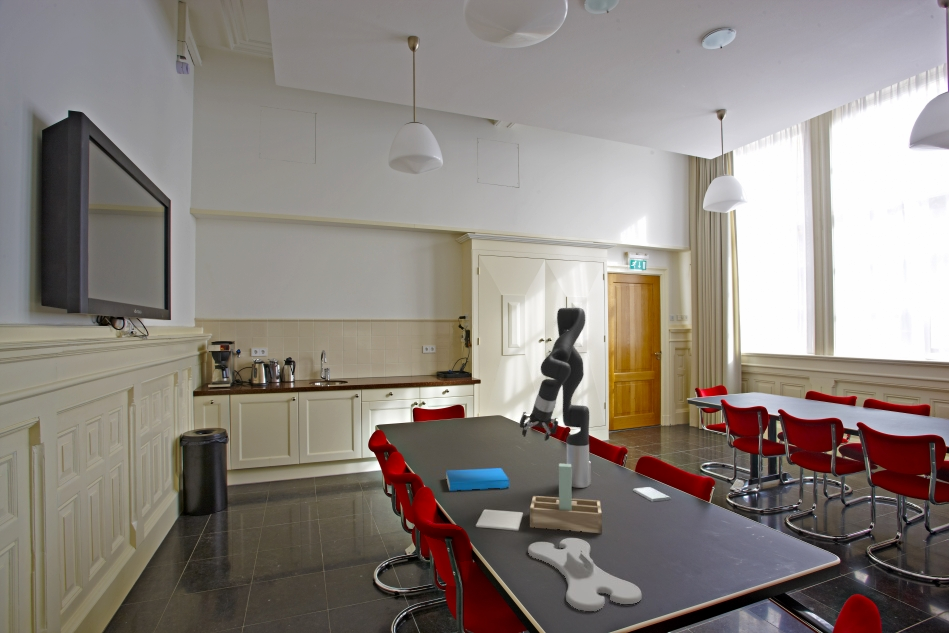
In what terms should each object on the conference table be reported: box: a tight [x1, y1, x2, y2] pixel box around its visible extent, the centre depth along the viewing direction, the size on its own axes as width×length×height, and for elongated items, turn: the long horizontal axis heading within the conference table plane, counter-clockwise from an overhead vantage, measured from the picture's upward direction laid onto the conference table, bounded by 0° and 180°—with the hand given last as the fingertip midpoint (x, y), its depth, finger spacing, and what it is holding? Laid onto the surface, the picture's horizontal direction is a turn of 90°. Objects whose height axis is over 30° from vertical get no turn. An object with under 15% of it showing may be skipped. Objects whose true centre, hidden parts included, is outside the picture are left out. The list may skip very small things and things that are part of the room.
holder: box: [527, 537, 643, 612], centre depth 125 cm, size 19×34×5 cm, turn 15°
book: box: [445, 467, 510, 492], centre depth 199 cm, size 17×4×25 cm
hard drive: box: [633, 486, 672, 503], centre depth 184 cm, size 2×8×12 cm
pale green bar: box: [558, 463, 573, 511], centre depth 155 cm, size 4×4×20 cm
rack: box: [529, 495, 603, 534], centre depth 157 cm, size 12×23×6 cm, turn 78°
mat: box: [475, 509, 524, 531], centre depth 159 cm, size 14×14×1 cm
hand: (534, 437), depth 184 cm, fingers open, 8 cm apart
